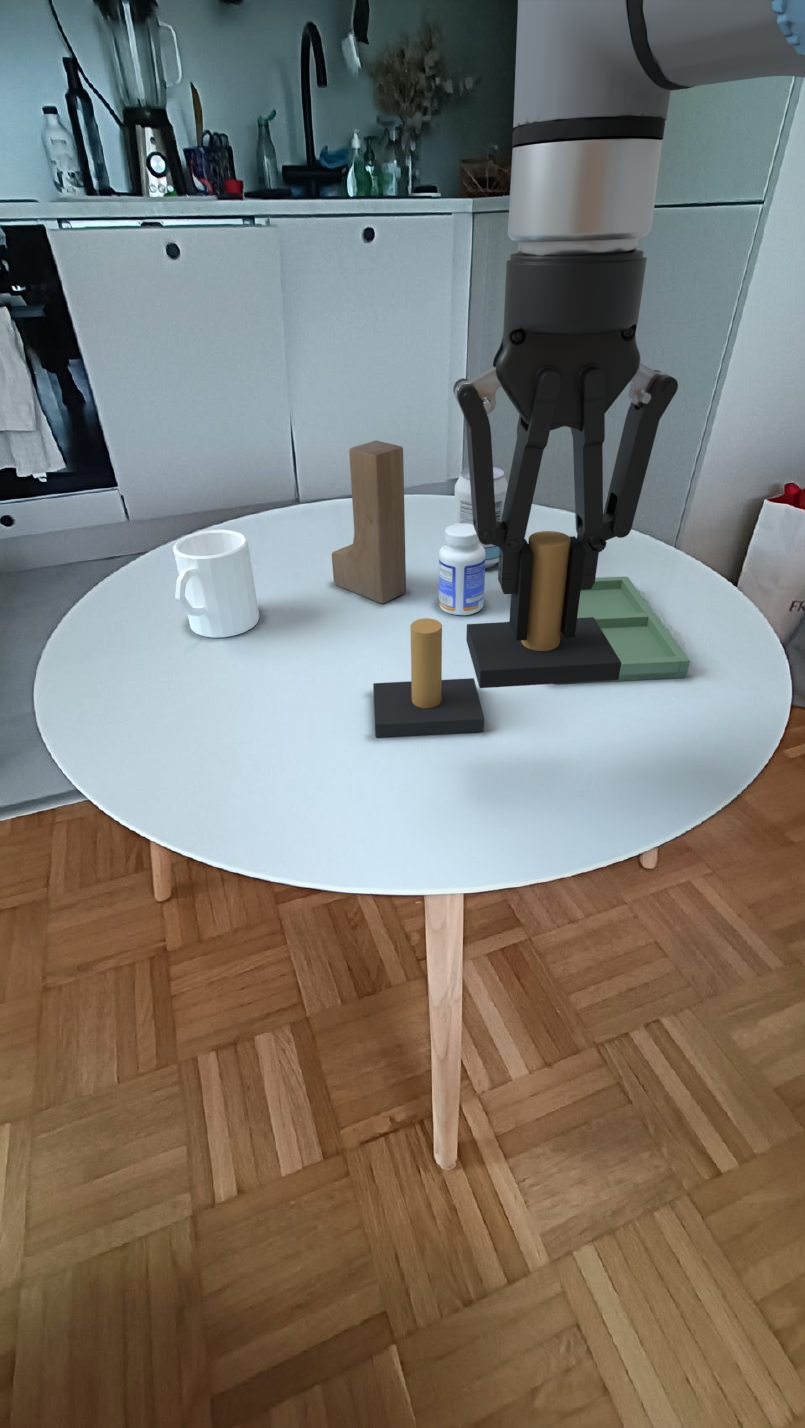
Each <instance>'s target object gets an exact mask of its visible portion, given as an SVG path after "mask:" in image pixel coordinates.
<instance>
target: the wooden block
mask: <svg viewBox="0 0 805 1428" xmlns="http://www.w3.org/2000/svg"><path fill="white" fill-rule="evenodd" d="M348 454H349V468H350V469H349V470H350V471H349V472H350V485H351V486H350V487H351V498H352V500H351V501H352V502H351V504H352V515H353V516H352V517H353V518H352V519H353V531H354V534H353V540H352V543H351V544H349V545H346V546H344V547H341V548H339V549H337V550H334V551H332V552H331V563H332V565H331V566H332V575H333V583H334V585H336V586H338V587H340V588H343V589H344V590H347V591H350V592H352V593H355V594H357V595H359V596H362V597H364V598H367V599H370V600H372V601H374V602H376V603H379V604H385V603H386V604H387V602H390V601H391V600H394V599H395V598H397V597H400V596H402V595H404V594H405V593H406V592H407V567H406V566H407V565H406V562H407V561H406V522H405V521H406V520H405V519H406V518H405V476H404V475H405V474H404V471H405V470H404V448H403V446H401V445H397V444H393V443H389V442H384V441H380V440H372V441H369V442H365V443H363V444H359V445H356V446H353V447H350V448H349V450H348Z"/></svg>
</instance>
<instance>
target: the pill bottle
mask: <svg viewBox="0 0 805 1428" xmlns="http://www.w3.org/2000/svg"><path fill="white" fill-rule="evenodd" d="M443 539H444V542H445V544H444V545H442V546H441V547H440V548H439V551H438V604H439V607H440V609H441V610H442V611H444V613H448V614H450V615H455V616H470V615H473V614H476V613H477V612H480V611H481V610H482V609H483V607H484V604H485V603H484V602H485V584H486V583H485V582H486V581H485V579H486V577H485V576H486V568H485V549H484V548H483V546H482V545H480V544H479V539H478V536H477V534H476V531H475V529H474V525H472V524H467V523H458V524H454V523H453V524H450V525H448V526H446V527H445V529H444V538H443Z"/></svg>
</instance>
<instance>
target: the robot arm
mask: <svg viewBox="0 0 805 1428" xmlns="http://www.w3.org/2000/svg"><path fill="white" fill-rule="evenodd" d="M516 19H517V23H516V46H515V47H516V49H515V50H516V51H515V70H514V71H515V74H514V75H515V77H514V101H513V125H512V128H513V131H512V141H511V147H512V150H511V151H512V153H511V167H510V168H511V169H510V171H511V172H510V173H511V174H510V186H509V188H510V189H509V208H508V221H507V222H508V223H507V236H508V237H509V238H510V240H511V241H514V242H518V244H517V252H515V253H511V254H510V255H509V256H510V257H509V259H508V260H506V267H505V286H504V288H505V289H504V310H503V329H502V338H501V341H500V342H501V343H500V345H499V347H498V349H497V351H496V353H495V355H494V358H493V360H492V366H491V367H490V368H488V369H486V370H484V371H482V372H480V373H479V374H477V375H474V377H471V378H470V379H469V378H465V377H464V378H463V377H462V378H459V379H458V380H457V381H455V383H454V385H453V389H452V391H453V395H454V398H455V400H456V401H457V404H458V405H459V409H460V411H461V412H462V415H463V418H464V421H465V433H466V446H467V447H466V448H467V459H468V460H467V461H468V468H469V474H470V488H471V501H472V515H473V525H474V529H475V531H476V534H477V536H478V539H479V541H480V542H481V543H482V544H484V545H489V544H492V545H495V546H498V547H499V562H498V567H497V568H498V571H497V573H498V574H497V581H498V583H499V586H500V589H501V591H502V594H503V595H510V605H509V621H508V622H509V623H510V626H511V629H512V631H513V634H514V636H515V639H516V641H518V640H527V629H528V617H529V604H530V592H531V579H532V567H533V552H532V550H531V548H530V547H529V546H528V540H527V539H526V533H527V528H528V524H529V520H530V516H531V510H532V505H533V501H534V498H535V497H534V496H535V492H536V487H537V483H538V477H539V472H540V469H541V465H542V459H543V454H544V450H545V449H546V447H547V445H548V443H549V442H548V441H549V437H550V433H551V431H553V430H557V429H560V428H563V427H567V428H570V433H571V436H572V451H573V452H572V454H573V455H572V456H573V485H574V486H573V487H574V515H575V517H574V518H575V531H576V535H575V536H574V535H572V536H571V535H570V536H569V537H570V539H571V543H570V552H569V562H568V571H567V580H566V589H565V598H564V608H563V617H562V626H561V632H562V634H563V636H564V638H571V637H575V632H576V624H577V615H578V607H579V599H580V591H581V590H588V589H592V587H593V585H594V583H595V578H597V577H596V576H597V570H598V569H597V568H598V562H599V555H600V553H601V552H603V551H604V550H605V549H606V547H607V541H609V540H611V539H614V538H620V539H622V538H623V539H624V538H625V537H627V536H629V534H630V533H631V531H632V528H633V524H634V521H635V516H636V512H637V509H638V505H639V501H640V497H641V493H642V489H643V485H644V483H645V482H644V481H645V477H646V474H647V470H648V467H649V462H650V458H651V455H652V451H653V447H654V443H655V439H656V435H657V431H658V427H659V424H660V420H661V418H662V417H663V415H664V414H665V412H666V410H667V408H668V407H669V405H670V403H671V402H672V400H673V398H674V396H675V395H676V394H677V391H678V390H679V382H678V380H677V379H676V378H675V377H673V376H671V375H669V374H668V373H665V372H663V371H661V370H658V369H654V370H653V369H652V368H650V367H648V366H646V365H645V364H642V363H641V353H640V350H639V348H638V344H637V337H636V333H637V328H638V324H639V318H640V310H641V303H642V295H643V289H644V281H645V276H646V275H645V274H646V268H647V262H648V261H647V260H648V257H646V256H644V250H641V249H638V243H639V238H640V239H641V238H645V237H646V236H647V235H648V234H650V233H651V232H652V227H653V221H654V212H655V205H656V204H655V202H656V196H657V189H658V179H659V172H660V164H661V155H662V147H663V139H664V135H665V126H666V121H667V120H668V119H667V118H668V111H669V105H670V98H671V93H672V92H671V91H678V90H679V91H680V90H687V89H691V88H696V87H697V86H707V85H713V84H722V83H729V82H737V81H743V80H744V81H745V80H751V79H757V78H759V79H760V78H769V77H795V78H803V79H805V0H517V18H516ZM628 385H629V390H628V393H627V397H628V400H629V402H630V404H629V407H628V409H627V413H626V415H625V419H624V424H623V428H622V432H621V437H620V441H619V445H618V449H617V453H616V458H615V463H614V467H613V471H612V475H611V480H610V484H609V488H608V491H607V496H606V500H605V504H604V480H603V479H604V467H603V466H604V465H603V464H604V463H603V461H604V459H603V456H604V455H603V444H604V442H605V439H606V429H605V428H606V424H605V422H606V421H605V417H606V416H605V415H606V413H607V412H608V411H609V409H610V408H611V407H612V405H613V404H614V403H615V401H616V400H617V399H618V398H619V396H620V395H621V394H622V393H623V391H624V390H625V389H626V387H627V386H628ZM500 387H501V388H502V390H503V391H504V392H505V394H506V396H507V398H508V399H509V400H510V402H511V404H512V405H513V407H514V408H515V410H516V411H517V413H518V414H519V415H518V419H517V420H518V421H517V426H516V441H515V446H514V450H513V456H512V461H511V467H510V470H509V471H510V472H509V477H508V481H507V483H508V487H507V492H506V497H505V502H504V508H503V513H502V518H501V522H499V521H496V513H495V495H494V477H493V467H494V463H493V462H494V460H493V445H492V444H493V443H492V430H491V424H490V419H489V416H488V414H490V413H492V412H493V411H494V409H495V407H496V403H497V402H496V393H497V391H498V390H499V388H500ZM604 505H605V506H604Z"/></svg>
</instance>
